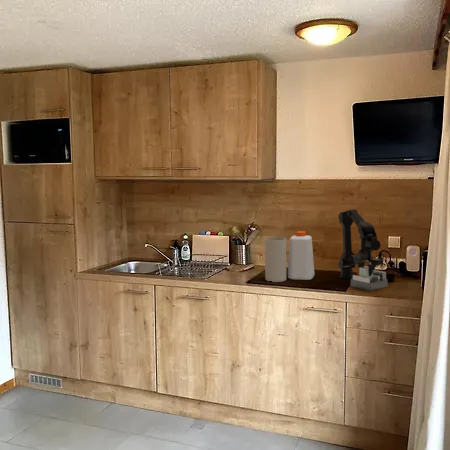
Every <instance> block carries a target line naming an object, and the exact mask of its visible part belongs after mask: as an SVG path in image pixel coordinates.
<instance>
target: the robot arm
mask: <svg viewBox="0 0 450 450" xmlns="http://www.w3.org/2000/svg"><path fill="white" fill-rule="evenodd" d="M337 216H338V217H337V218H338V221H339V224H340V226H341V227H342V228H341V229H342V246H343V247H342V248H343V251H342V253H341V255H340V260H339V262H338V263H337V267H338V268H339V269H340V276H338V278H340V279H344V280H349V279H350V280H351V279H353V275H354V270H353V268H354V269H355V268H356V265H357V267H358V268H359V267H364V266H366V265H365V263H368V264H367V267H369V276H371V275H372V273H373V271H374V270H376V268H377V266H383V265H384V260H383V259H382V258H378V257H377V258H374V256H372V255H373V254H372V252H374V251H379V249H380V248H381V242H380V240H378V236H377V232H376V230H375V227H374V226H373V224H372V223H370V222H367V221H366V220H364V218H363V217H362V215H360V214H359V211H358V210H357V209H354V208H353V209H348V210H346V211H340V213H338V215H337ZM353 223H354V224H355V225H356V227H357V228H358V229H357V231H358V233H359V235H360V236H359V239H360V249H359V250H358V253H354V252H353V248H352V246H353V245H352V226H353Z"/></svg>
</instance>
